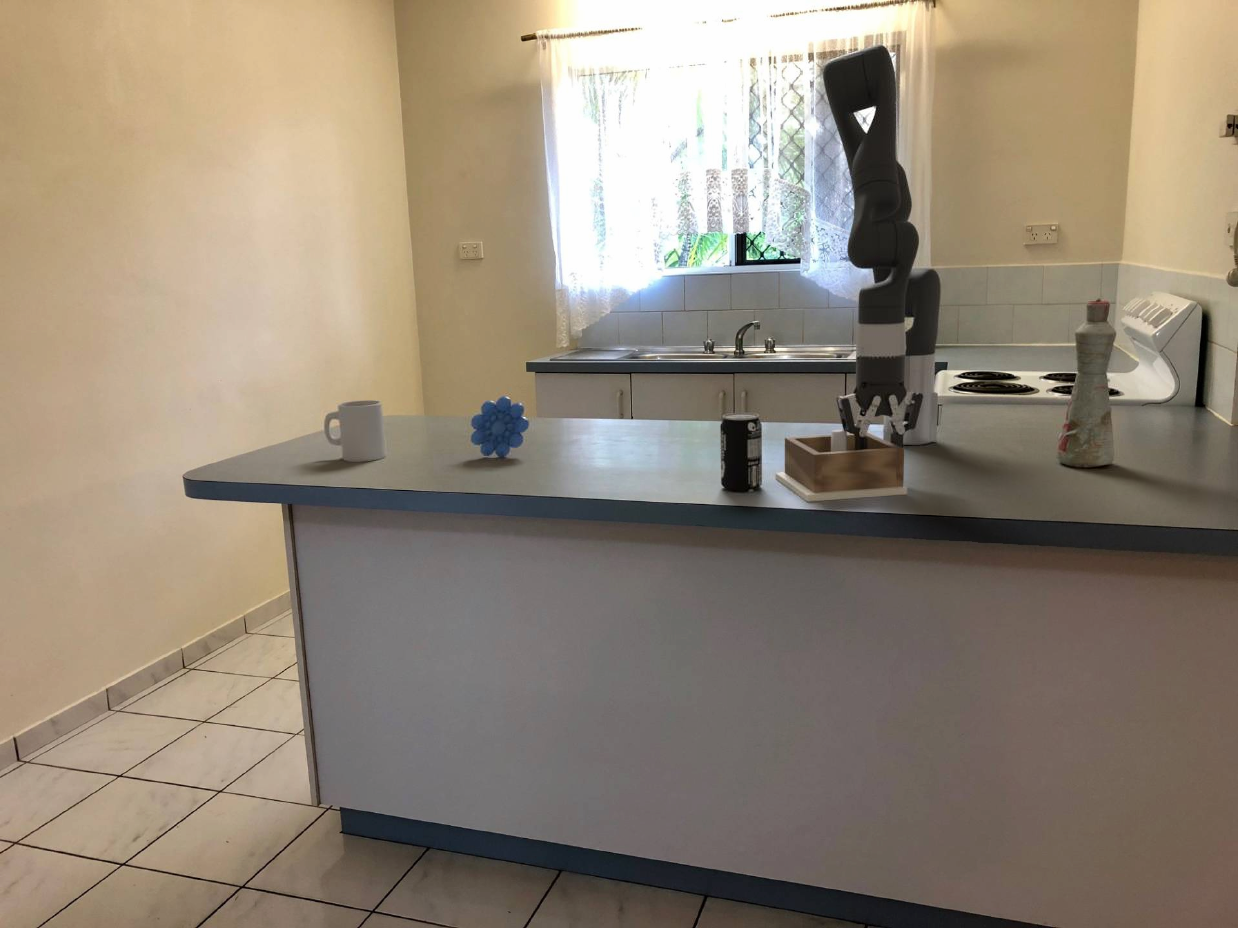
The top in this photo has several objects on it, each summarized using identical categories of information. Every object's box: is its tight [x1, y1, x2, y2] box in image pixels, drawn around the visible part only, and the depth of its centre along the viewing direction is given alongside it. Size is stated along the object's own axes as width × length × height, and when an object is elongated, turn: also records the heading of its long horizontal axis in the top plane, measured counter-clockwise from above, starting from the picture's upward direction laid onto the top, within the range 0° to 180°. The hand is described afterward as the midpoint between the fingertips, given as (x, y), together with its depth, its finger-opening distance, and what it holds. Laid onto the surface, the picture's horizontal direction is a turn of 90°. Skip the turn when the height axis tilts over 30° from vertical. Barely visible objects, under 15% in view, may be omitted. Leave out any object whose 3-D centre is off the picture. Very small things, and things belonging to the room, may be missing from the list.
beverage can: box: [719, 412, 763, 493], centre depth 153 cm, size 7×7×12 cm
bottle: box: [1056, 298, 1117, 468], centre depth 159 cm, size 9×9×28 cm
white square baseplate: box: [774, 429, 908, 502], centre depth 152 cm, size 16×16×9 cm
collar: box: [784, 432, 905, 493], centre depth 153 cm, size 14×14×6 cm
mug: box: [323, 400, 387, 463], centre depth 190 cm, size 12×8×11 cm
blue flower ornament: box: [470, 395, 530, 458], centre depth 186 cm, size 12×7×12 cm, turn 86°
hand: (878, 457), depth 153 cm, fingers open, 5 cm apart
